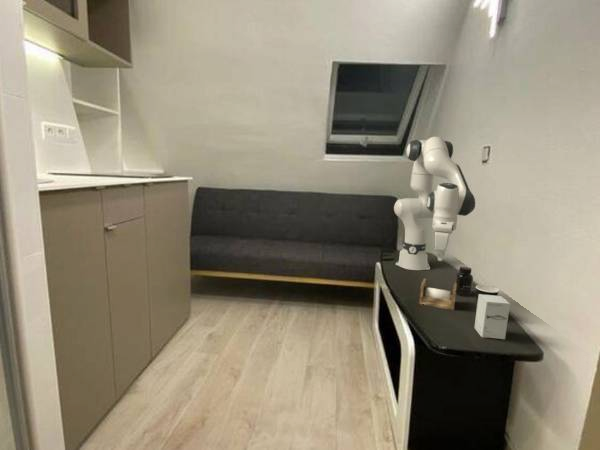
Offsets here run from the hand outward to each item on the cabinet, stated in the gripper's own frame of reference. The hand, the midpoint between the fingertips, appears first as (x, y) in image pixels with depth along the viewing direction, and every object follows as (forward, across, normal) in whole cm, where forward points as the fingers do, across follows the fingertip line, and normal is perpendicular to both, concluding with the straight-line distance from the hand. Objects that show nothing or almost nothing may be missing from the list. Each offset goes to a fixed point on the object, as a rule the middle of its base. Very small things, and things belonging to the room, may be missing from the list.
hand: (440, 257), depth 140 cm
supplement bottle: (+19, -17, +10) cm, 27 cm away
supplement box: (+19, +22, +18) cm, 34 cm away
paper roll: (+15, +1, 0) cm, 16 cm away
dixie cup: (+19, +6, +17) cm, 26 cm away
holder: (+19, +1, 0) cm, 19 cm away
